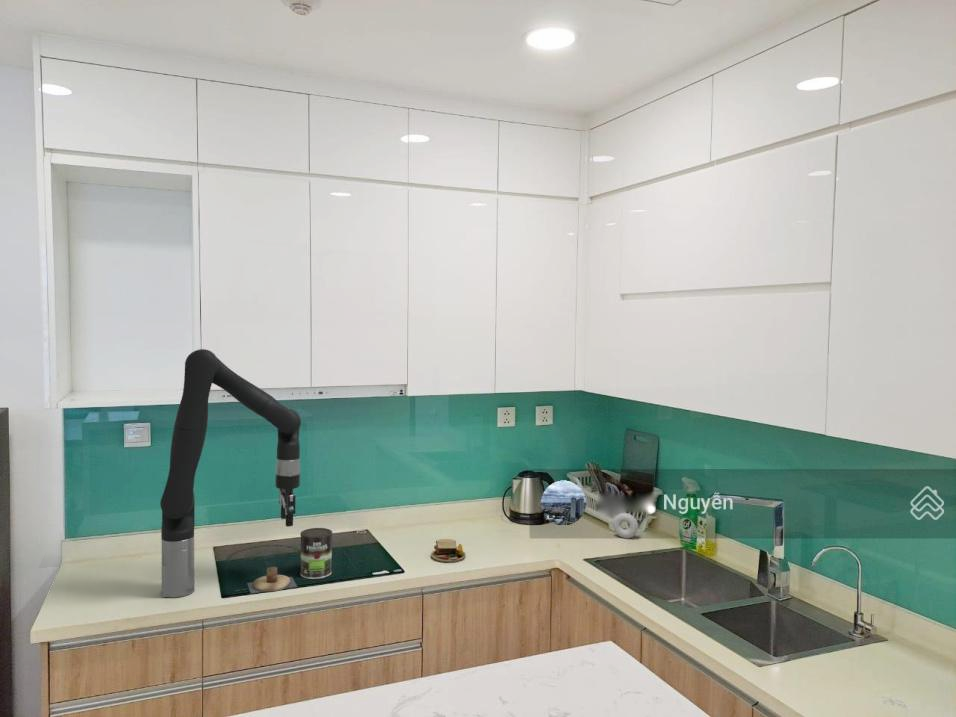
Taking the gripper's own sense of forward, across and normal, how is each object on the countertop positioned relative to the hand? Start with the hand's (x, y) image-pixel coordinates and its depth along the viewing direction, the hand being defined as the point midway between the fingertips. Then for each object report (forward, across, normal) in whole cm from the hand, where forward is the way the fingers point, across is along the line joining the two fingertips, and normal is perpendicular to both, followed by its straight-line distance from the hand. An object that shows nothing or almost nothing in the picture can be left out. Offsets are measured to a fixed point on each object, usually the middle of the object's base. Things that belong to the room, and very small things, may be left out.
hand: (286, 522), depth 221 cm
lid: (+19, +2, -4) cm, 20 cm away
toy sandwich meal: (+19, -1, +57) cm, 60 cm away
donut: (+17, +7, +130) cm, 132 cm away
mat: (+19, +2, -4) cm, 20 cm away
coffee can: (+19, -3, +10) cm, 22 cm away
